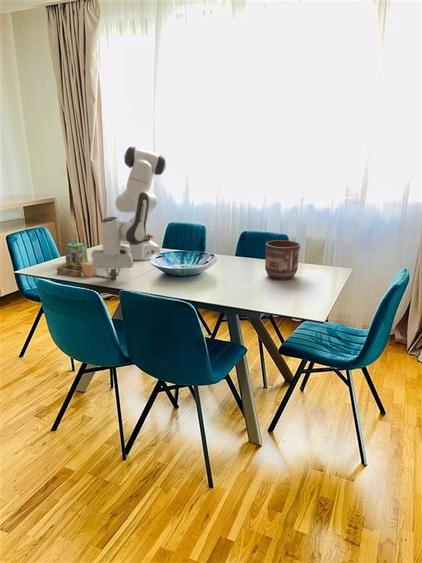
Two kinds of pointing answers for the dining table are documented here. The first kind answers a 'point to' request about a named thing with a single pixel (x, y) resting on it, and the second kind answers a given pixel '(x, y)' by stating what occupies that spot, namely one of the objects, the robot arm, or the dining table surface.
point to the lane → (70, 270)
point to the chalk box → (75, 253)
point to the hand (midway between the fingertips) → (113, 275)
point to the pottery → (281, 259)
